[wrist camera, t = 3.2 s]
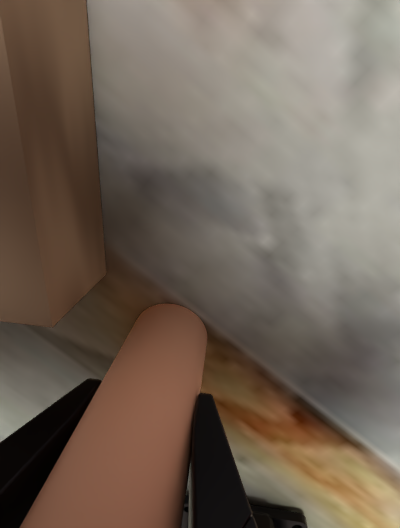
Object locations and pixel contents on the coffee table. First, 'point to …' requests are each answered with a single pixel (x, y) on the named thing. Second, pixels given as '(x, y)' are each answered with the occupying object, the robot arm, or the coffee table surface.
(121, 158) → the coffee table surface
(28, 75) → the socket
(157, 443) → the peg
